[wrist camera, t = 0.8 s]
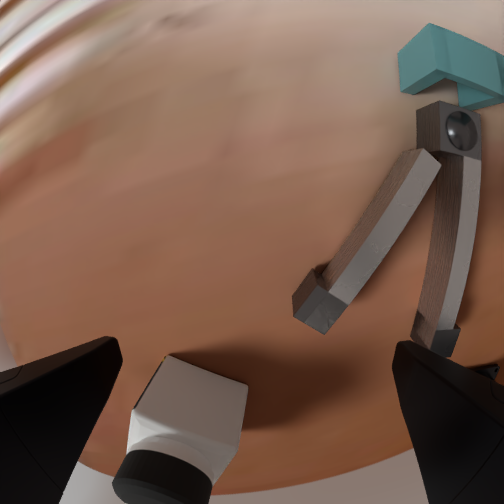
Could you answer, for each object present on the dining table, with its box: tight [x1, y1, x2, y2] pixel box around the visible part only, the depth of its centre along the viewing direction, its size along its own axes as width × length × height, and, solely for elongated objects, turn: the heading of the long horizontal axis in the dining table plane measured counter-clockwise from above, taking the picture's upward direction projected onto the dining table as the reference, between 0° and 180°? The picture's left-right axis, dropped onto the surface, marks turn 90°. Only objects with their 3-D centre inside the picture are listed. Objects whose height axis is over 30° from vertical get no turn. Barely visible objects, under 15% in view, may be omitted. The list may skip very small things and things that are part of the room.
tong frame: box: [410, 101, 481, 358], centre depth 16 cm, size 16×4×3 cm, turn 178°
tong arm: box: [292, 148, 441, 335], centre depth 16 cm, size 12×2×3 cm, turn 148°
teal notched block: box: [398, 23, 504, 111], centre depth 12 cm, size 3×6×5 cm, turn 88°
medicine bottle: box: [112, 355, 248, 504], centre depth 17 cm, size 7×7×12 cm
